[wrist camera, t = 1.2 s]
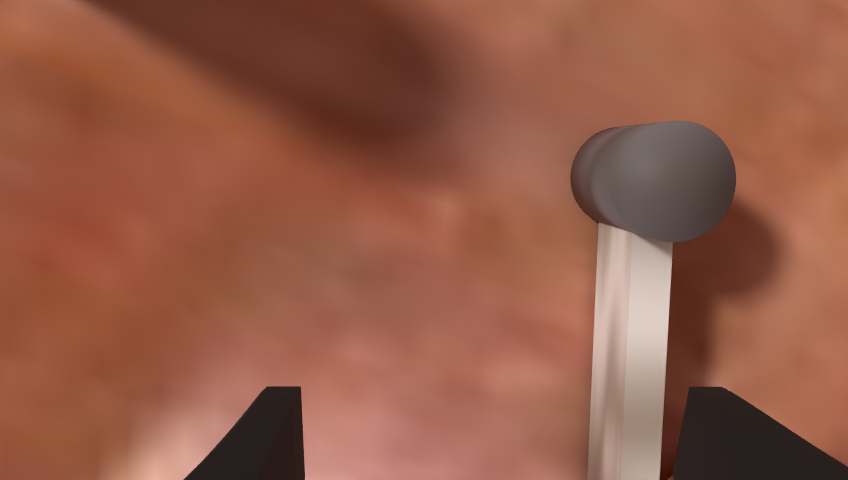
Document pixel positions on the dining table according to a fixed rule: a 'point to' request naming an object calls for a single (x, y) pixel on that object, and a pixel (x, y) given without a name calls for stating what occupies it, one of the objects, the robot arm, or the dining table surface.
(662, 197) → the lever
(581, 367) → the dining table surface
